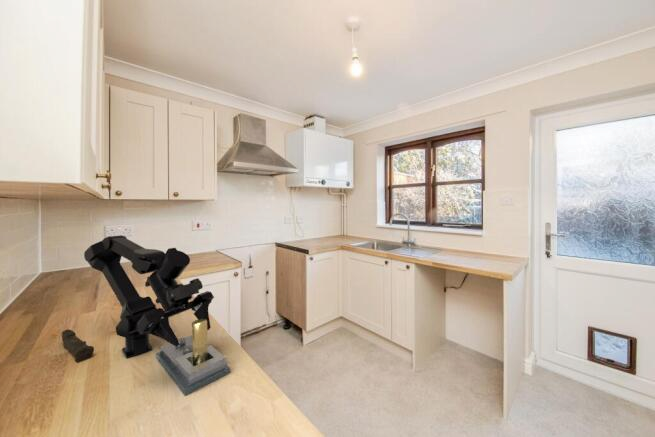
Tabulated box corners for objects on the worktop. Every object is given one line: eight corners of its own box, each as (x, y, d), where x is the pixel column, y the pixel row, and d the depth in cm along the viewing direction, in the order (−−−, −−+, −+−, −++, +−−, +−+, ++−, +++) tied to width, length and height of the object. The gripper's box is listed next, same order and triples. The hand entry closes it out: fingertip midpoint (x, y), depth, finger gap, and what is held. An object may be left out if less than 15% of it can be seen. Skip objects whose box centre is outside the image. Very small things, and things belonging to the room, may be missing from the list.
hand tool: (94, 357, 73) (94, 342, 73) (75, 364, 70) (75, 348, 70) (76, 338, 84) (76, 325, 84) (59, 344, 81) (59, 329, 80)
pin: (189, 371, 65) (188, 323, 64) (200, 363, 68) (199, 318, 68) (200, 374, 64) (199, 326, 63) (210, 366, 67) (210, 320, 67)
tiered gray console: (156, 358, 73) (155, 343, 73) (196, 343, 81) (195, 329, 81) (184, 395, 58) (184, 377, 58) (229, 372, 67) (229, 356, 67)
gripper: (143, 280, 59) (174, 337, 55) (209, 264, 76) (237, 306, 72) (124, 307, 63) (152, 362, 59) (191, 286, 80) (217, 327, 76)
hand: (194, 336), depth 66 cm, fingers open, 9 cm apart
